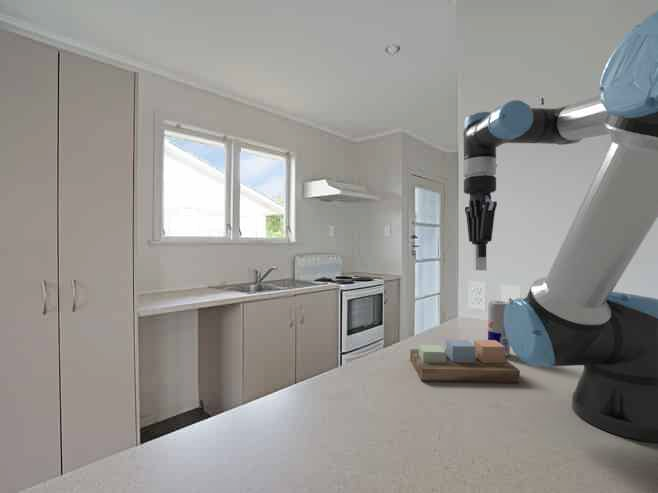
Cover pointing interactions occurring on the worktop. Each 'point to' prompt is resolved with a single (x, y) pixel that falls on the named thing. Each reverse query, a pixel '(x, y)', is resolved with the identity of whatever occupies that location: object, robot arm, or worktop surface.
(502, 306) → the beverage can
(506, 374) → the board
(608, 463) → the worktop surface
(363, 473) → the worktop surface
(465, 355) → the slate button
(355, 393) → the worktop surface
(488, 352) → the terracotta button
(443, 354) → the sage button
